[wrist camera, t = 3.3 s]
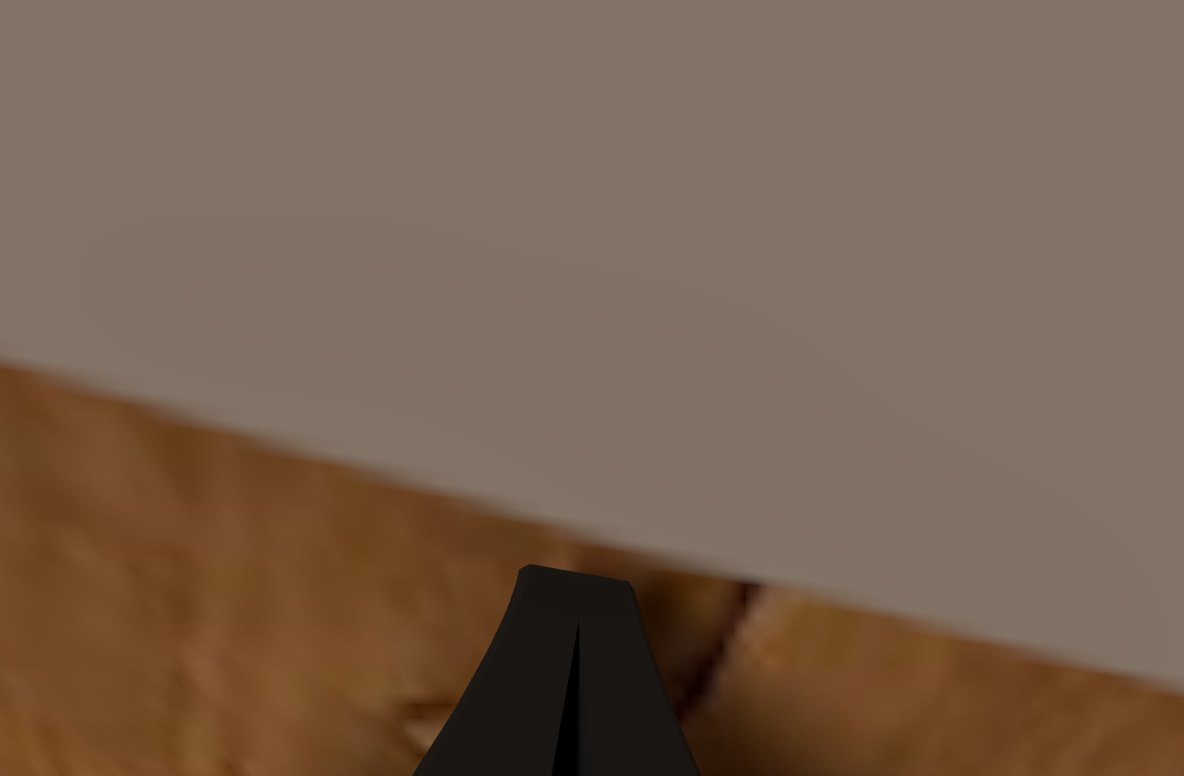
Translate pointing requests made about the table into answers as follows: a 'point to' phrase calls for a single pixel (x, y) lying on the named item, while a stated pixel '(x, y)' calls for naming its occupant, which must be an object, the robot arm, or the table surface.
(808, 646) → the table surface
